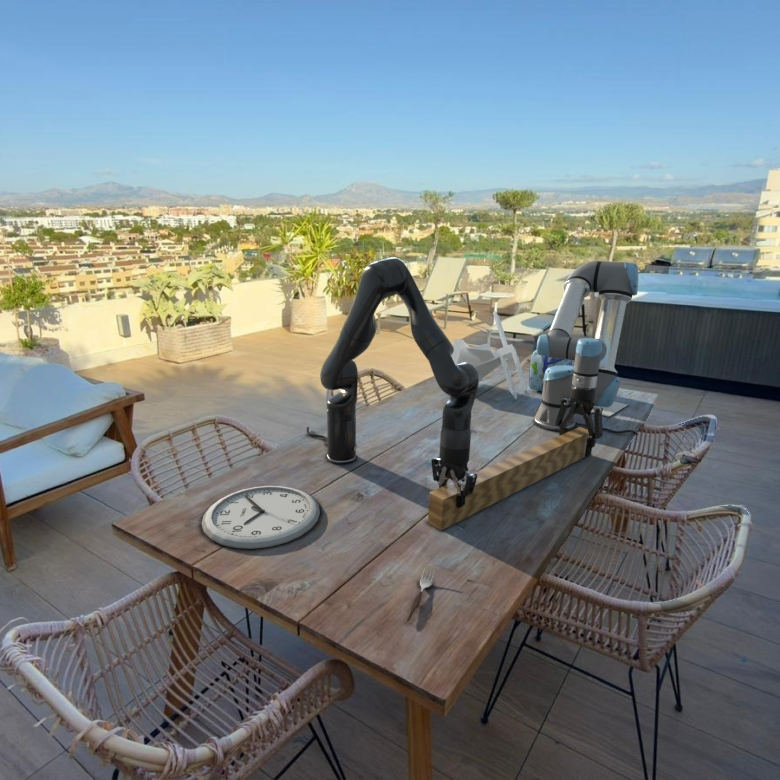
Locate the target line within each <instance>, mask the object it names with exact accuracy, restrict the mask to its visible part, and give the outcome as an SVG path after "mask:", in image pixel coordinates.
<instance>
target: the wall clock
mask: <svg viewBox="0 0 780 780" xmlns="http://www.w3.org/2000/svg"><path fill="white" fill-rule="evenodd" d="M320 514H321V510H320V504H319V503H318V502H317V500H316V499H315V498H314V497H313V496H311V495H310V494H308V493H306V492H305V491H303V490H300V489H296V488H294V487H289V486H283V485H282V486H281V485H263V486H254V487H249V488H243V489H240V490H238V491H234V492H232V493H229V494H228V495H226V496H223V497H222V498H220V499H219V500H217V501H216V502H214V503H213V504H212V505H210V506H209V508H208V509H207V510H206V511H205V513H204V514H203V516H202V520H201V527H202V530H203V533H204V534H205V536H207V537H208V538H209V539H210V540H211V541H212V542H215V543H217V544H219V545H221V546H225V547H229V548H235V549H249V550H250V549H251V550H252V549H253V550H254V549H264V548H272V547H275V546H279V545H284V544H286V543H289V542H291V541H293V540H296V539H298V538H300V537H302V536H303V535H304V534H306V533H307V532H310V531H311V530H312V529H313V527H314V526H315V525H316V524H317V523H318V520H319V518H320Z"/></svg>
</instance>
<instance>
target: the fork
mask: <svg viewBox="0 0 780 780" xmlns="http://www.w3.org/2000/svg"><path fill="white" fill-rule="evenodd" d="M426 567H427V565H425V567H424V570H423V573H422V575H421V578H420V580H419V586H420V588H421V589H420V590H419V592H418V594H417V595H416V596H415V598H414V599H413V602H412V604H411V608H410V611H409V614H408V617H407V620H406V621H407V622H409V621H410V619H411V618H412V616H413V614H414V613H415V612H416V610H417V608H418V606H419V604H420V603H421V598H422V595H423V593H424V590H425V589H429V588H430V587H431V586H432V584H433V581H434V577H435V571H436V568H434V570H433V567H431V568H430V566H428V567H427V570H426ZM429 568H430V569H429ZM429 570H430V571H429ZM432 571H433V573H432ZM425 572H426V573H425ZM428 574H429V575H428Z"/></svg>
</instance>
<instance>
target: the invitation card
mask: <svg viewBox="0 0 780 780" xmlns="http://www.w3.org/2000/svg"><path fill="white" fill-rule="evenodd" d="M628 406H629V404H627V403H623V402H618V401H614V402H613V404H612V405H611V406H610V407H602V408H603V411H602V416H604V417H608V418H609V417H611V416H613V415H614V414H616V413H617V412H619V411H621V410H623V409H624V408H626V407H628ZM596 407H597V406H596ZM598 408H600V406H599V407H598ZM591 413H592V414H595V413H594V410H592V411H591Z"/></svg>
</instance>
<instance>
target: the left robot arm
mask: <svg viewBox="0 0 780 780" xmlns="http://www.w3.org/2000/svg"><path fill="white" fill-rule="evenodd" d="M393 296H398V297H399V298H400V300H402V302H403V303H404V305H405V307H406V309H407V313H408V318H409V325H410V331H411V335H412V338H413V340H414V342H415V344H416V346H417V347H418V348H419V350H420V351H421V352H422V354H423V356H424V357H425V358H426V360H427V361H428V363H429V365H430V369H431V371H432V373H433V376H434V379H435V381H436V383H437V385H438V386H439V388H440V390H442V392H443V393H444V394H446V395H448V396H449V399H448V400H447V401H446V402H445V403H444V405H443V408H442V418H441V419H442V420H441V429H440V436H439V454H438V455H439V456H437V457H434V458H432V459H431V471H432V480H433V481H434V482H437V485H438V489H439V488H441V487H443V486H445V485H448V484H449V483H448V482H449V480H451V481H452V482H454V486H455V487H456V489H457V493H458V494H457V501H456V507H457V508H461V507H463V506H464V505H465V498H466V496H467V495H469V494H472V493H473V490H474V487H475V483H476V480H477V474H475V472H470V471H469V467H468V464H469V461H470V454H471V443H472V442H471V439H472V430H471V428H472V427H471V425H472V409H473V406H474V404H475V400H476V396H477V392H478V389H479V383H480V382H479V377H478V372H477V370H476V368H475V367H474V366H473V365H472V364H470V363H466V362H464V363H460V364H457V365H455V363H454V361H453V359H452V357H451V355H452V354H453V352H454V348H453V344H452V342H451V341H450V339H449V338H448V336H447V335H446V334H445V332H444V331H443V330H442V328H441V327H440V325H439V323H438V322H437V320H436V319H435V318H434V316H433V315H432V313H431V311H430V309H429V307H428V305H427V303H426V302H425V301H426V300H425V299H424V297H423V294H422V292H421V291H420V289H419V287H418V285H417V283H416V281H415V279H414V277H413V275H412V273H411V272H410V270H409V268H408V267H407V264H406V263H405V262H404V261H403V260H401V259H400V258H398V257H388V258H383V259H381V260H377V261H374V262H371V263H370V264H368V265H367V266H366V267H365V268H364V270H363V271H362V274H361V276H360V279H359V282H358V286H357V290H356V293H355V296H354V299H353V302H352V304H351V307H350V309H349V311H348V313H347V316H346V318H345V320H344V322H343V325H342V327H341V329H340V332H339V335H338V337H337V339H336V341H335V343H334V345H333V347H332V348H331V350H330V352H329V354H328V355H327V357H326V358H325V360H324V361H323V364H322V366H321V368H320V369H321V370H320V374H319V377H320V378H319V379H320V383H321V385H322V387H323V388H324V389H326V390H328V391H338V390H339V391H338V392H336V394H334V395H333V396H331V397H329V398H328V399H327V401H326V429H327V430H326V431H327V436H325V435H323V434H314V433H311V432H310V426H306V434H307V435H308V436H310V437H314V438H315V437H316V438H321V439H323V440H325V445H326V447H327V455H326V456H327V460H328V461H329V462H330V463H333V464H339V465H340V464H341V465H342V464H343V465H345V464H349V463H351V462H354V461H356V459H357V448H358V444H357V410H356V409H357V402H358V389H359V388H358V387H359V369H358V366H357V363H356V362H355V359H356V358H359V356H361V355H362V354H363V353H364V352H366V351H367V350H368V348H369V347H370V345H372V342H373V340H374V338H375V336H376V333H377V331H378V322H377V318H376V315H375V314H376V311H377V309H378V307H379V306H380V304H381V303H382V301H384V300H386V299H387V298H390V297H393ZM473 473H474V474H473ZM459 480H461V482H458V481H459ZM461 486H462V490H461Z"/></svg>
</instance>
